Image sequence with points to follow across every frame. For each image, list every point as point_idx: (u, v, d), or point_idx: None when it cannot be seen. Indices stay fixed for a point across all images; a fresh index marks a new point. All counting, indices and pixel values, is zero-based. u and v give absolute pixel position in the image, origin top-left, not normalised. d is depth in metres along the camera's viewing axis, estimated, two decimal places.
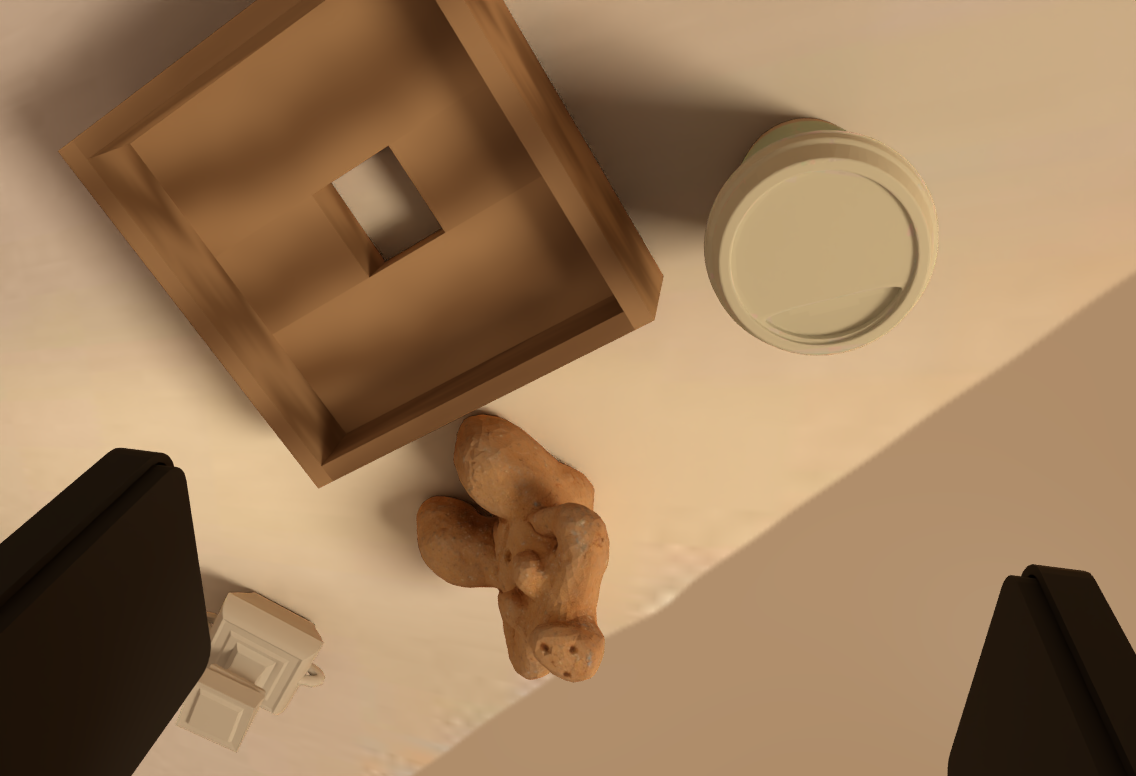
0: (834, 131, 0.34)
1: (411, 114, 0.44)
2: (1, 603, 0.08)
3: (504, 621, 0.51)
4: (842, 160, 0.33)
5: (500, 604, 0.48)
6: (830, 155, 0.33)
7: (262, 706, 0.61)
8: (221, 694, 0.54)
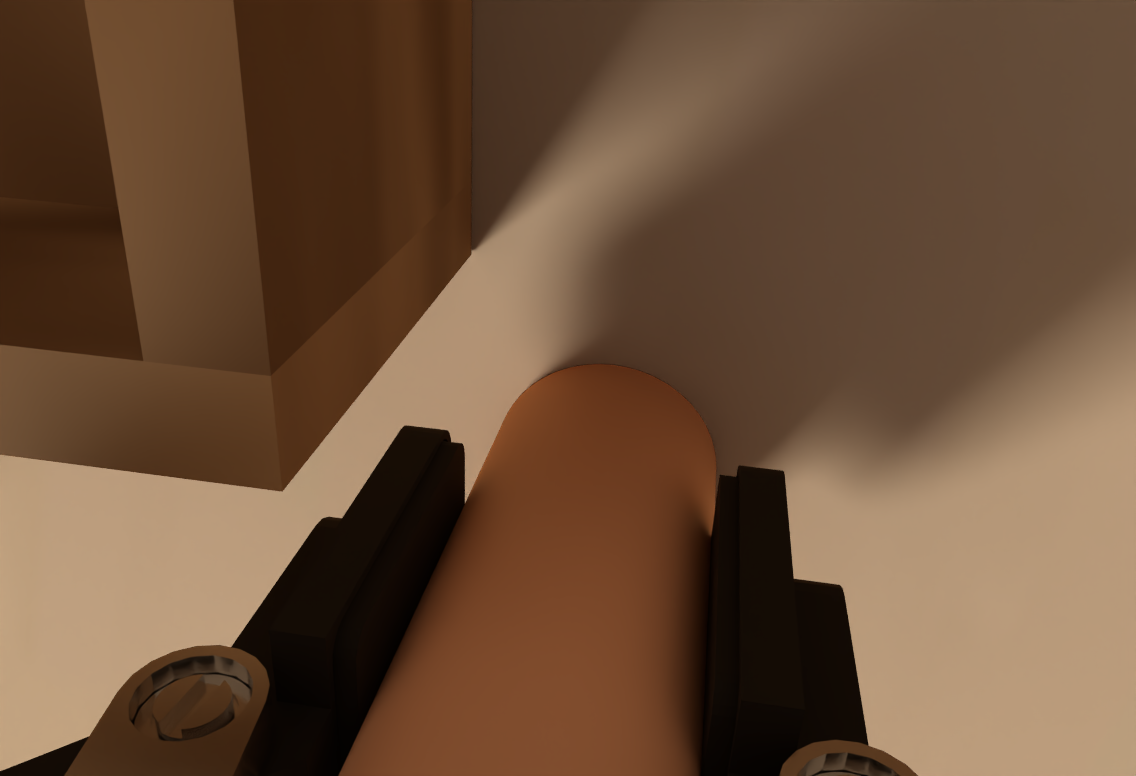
0: None
1: None
2: (374, 562, 0.09)
3: None
4: None
5: None
6: None
7: None
8: None
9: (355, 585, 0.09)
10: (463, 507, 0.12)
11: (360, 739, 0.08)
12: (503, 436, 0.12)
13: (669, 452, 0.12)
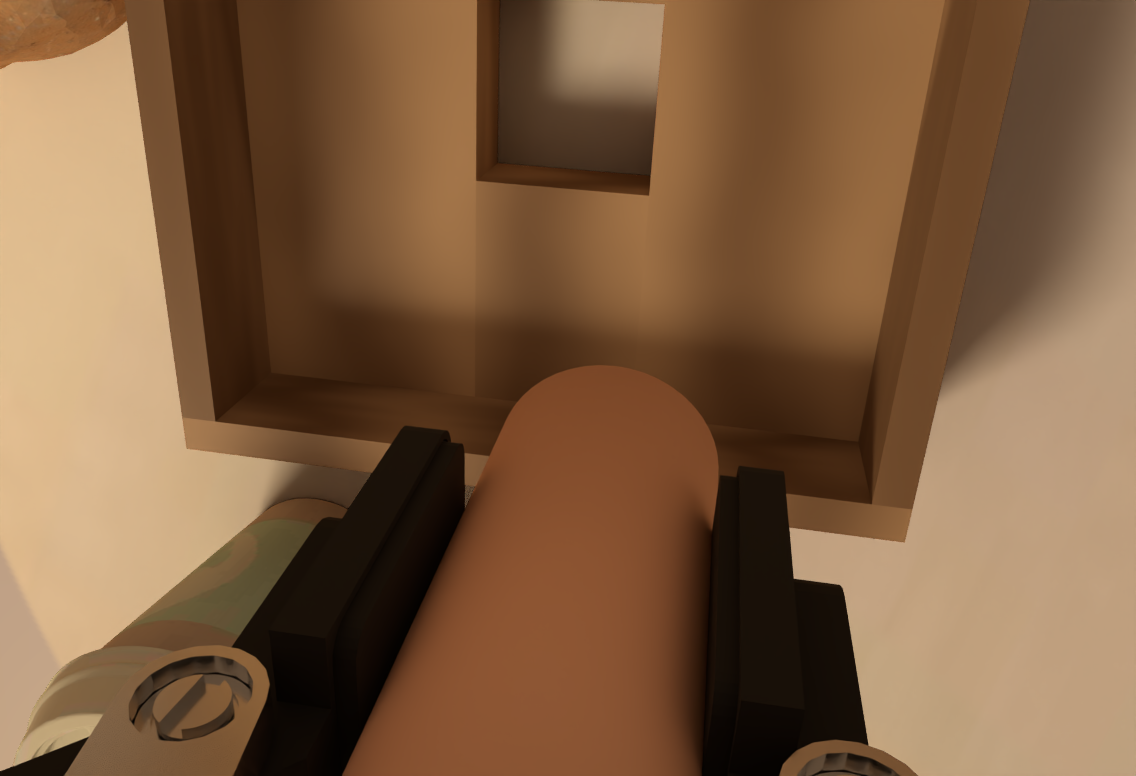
0: None
1: (665, 262, 0.26)
2: (374, 562, 0.09)
3: None
4: None
5: None
6: None
7: None
8: None
9: (355, 585, 0.09)
10: (465, 509, 0.12)
11: (362, 743, 0.08)
12: (505, 437, 0.12)
13: (672, 453, 0.12)
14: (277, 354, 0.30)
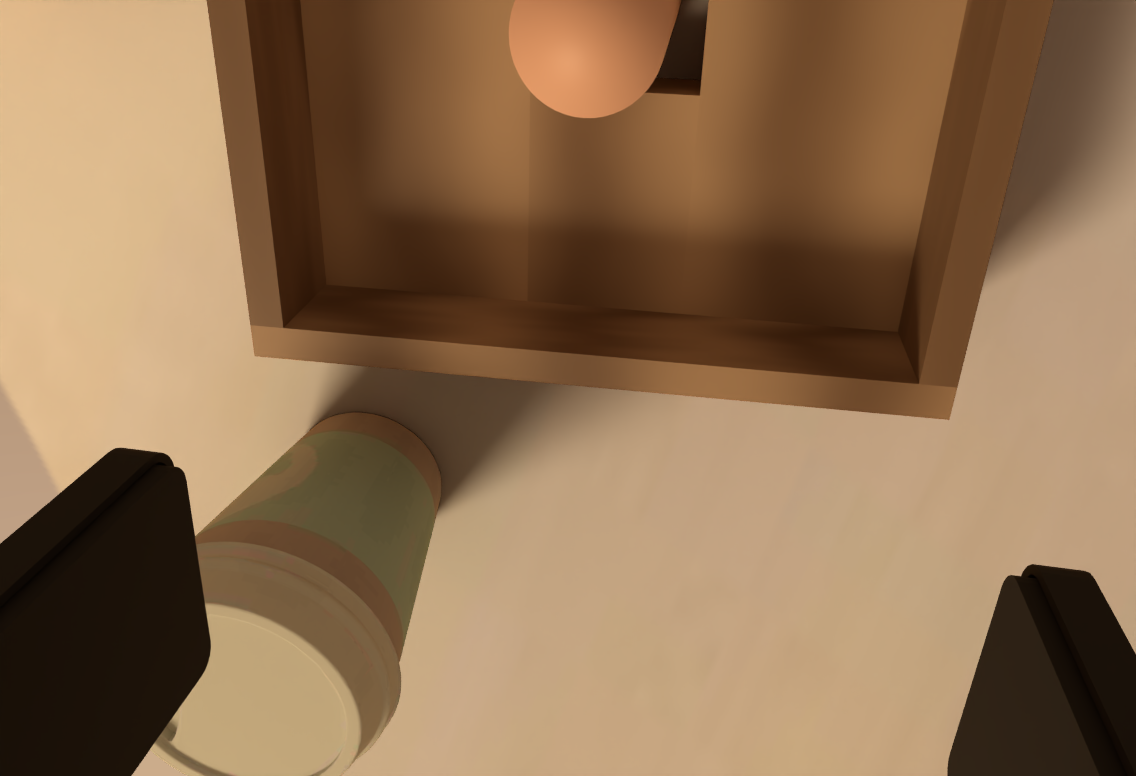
0: None
1: (714, 162, 0.27)
2: (1, 603, 0.08)
3: None
4: (340, 773, 0.28)
5: None
6: None
7: None
8: None
9: None
10: None
11: None
12: None
13: None
14: (332, 266, 0.31)
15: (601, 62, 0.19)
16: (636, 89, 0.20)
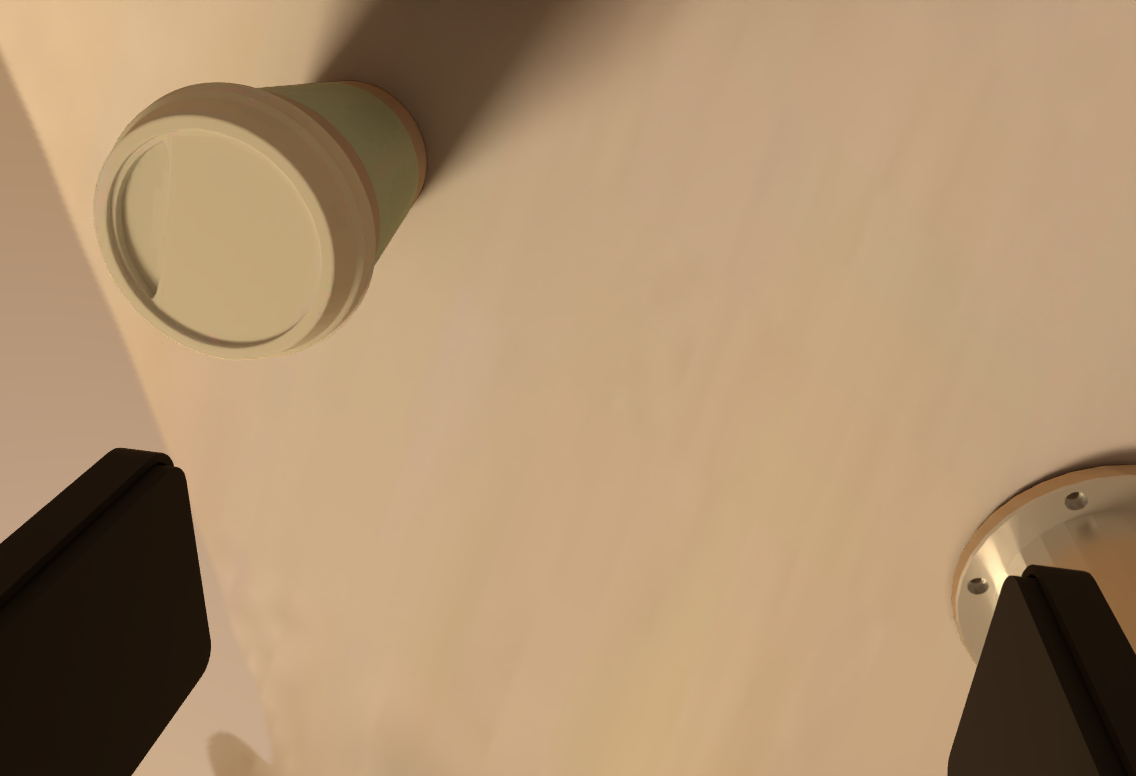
0: (356, 306, 0.30)
1: None
2: (1, 603, 0.08)
3: None
4: (314, 322, 0.28)
5: None
6: (326, 312, 0.28)
7: None
8: None
9: None
10: None
11: None
12: None
13: None
14: None
15: None
16: None
